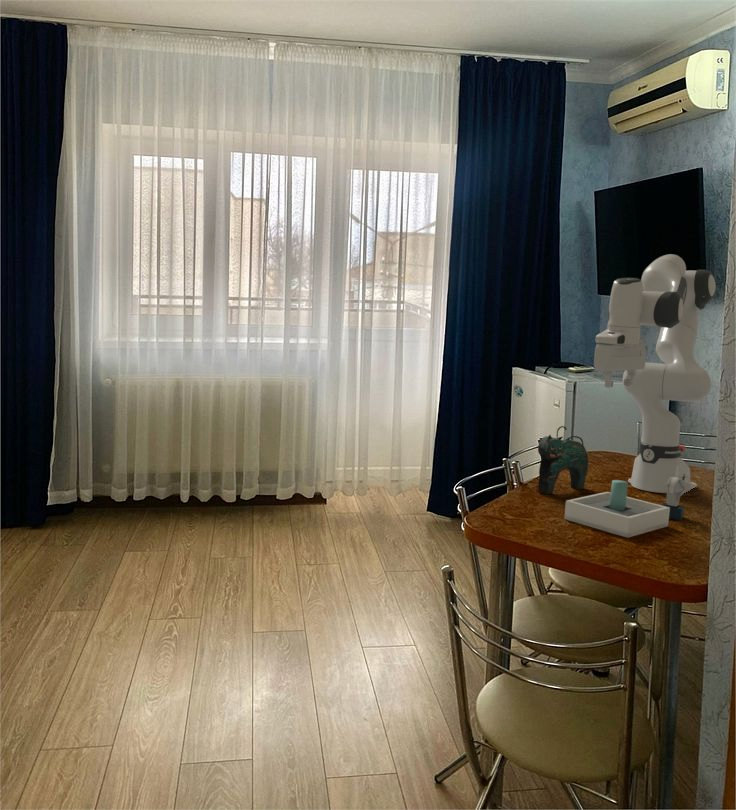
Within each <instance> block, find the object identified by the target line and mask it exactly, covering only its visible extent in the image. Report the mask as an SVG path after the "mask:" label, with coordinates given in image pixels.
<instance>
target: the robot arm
mask: <svg viewBox="0 0 736 810" xmlns="http://www.w3.org/2000/svg"><path fill="white" fill-rule="evenodd" d="M716 286H717V285H716V281H715V278H714V275H713V273H712V272H711V271H710V270H707V269H697V270H692V269H691V270H687V265H686V263H685V260H683V258H682V257H680V256H679V255H677V254H672V253H671V254H670V253H669V254H665V255H662V256H659V257H658V258H656V259H655V260H653V261H652V262H651V263H650V264H649V265H648V266H647V267H646V268H645V269H644V270H643V272H642V275H641V279H640V278H638V277H621V278H616V279H615V280H614V281H613V284H612V287H611V291H610V297H609V305H608V313H609V318H608V321H607V326H606V327H607V328H606V329H605V330H604V331H602V332H600V333H598V334H596V336H595V339H594V340H595V343H597V344H596V346H595V348H594V357H593V366H594V369H595V371H598V372H602V376H603V380H604V387H605V388H608V389H609V388H613V387H614V381H613V380H612V376H613V372H620V371H621V372H623V371H624V372H623V375H622V385H623V388H624V390H625V392H627V394H628V395H630V396H631V398H633V399H634V401H635V402H636V404H637V406H638V407H639V410H640V414H641V421H642V423H641V440H640V441H639V445H638V453H639V454H638V455H637V456H636V457H635V459H634V461H633V466H632V467H633V468H632V473H631V477H630V478H628V480H627V482H628V484H629V483H630V485H631V486H632V487H634V488H635V489H638V490H642V491H646V492H652V493H657V494H658V493H661V494H667V492H668V487H667V485H665V484H666V483H668V480H669V479H670V477H678V478H681V479H682V480H684V481H685V483H686V488H685V490H684V492H683V494H682V495H685V494H686V492H687V493H689V492H690V490H691V489H693V488H695V487H696V486H697V487H698V483H695V482H693V481H691V468H690V467H689V466H688V464H687V463H686V462H685V461H684V460H683V459H682V457H681V456H682V454H681V453H682V452H685V450H686V446H685V445H683V444H680V435H681V434H680V433H681V426H682V425H681V420H680V418H679V417H678V416H677V415H676V414H675V413H673V412H671V411H670V410H669V409H667V408H665V406H664V404H663V400H666V401H675V402H684V403H686V402H687V403H688V402H689V403H690V402H701V401H703V400H704V399H706V397H707V396H708V395H709V393H710V391H711V388H712V380H711V377H710V374H709V373H708V371H707V370H705V369H704V368H702V366H700V365H699V364H698V363H697V361H696V359H695V357H694V353H695V352H694V351H695V350H694V349H695V343H696V339H697V335H698V330H699V329H698V327H699V315H698V312H697V311H698V309H699V310H700V311H701V310H703V309H705V308H706V305H707V304H709V303H710V302H711V300H712V299H713V298H714V296H715V293H716ZM642 326H648V327H649V326H650V327H659V328H660V330H659V335H658V338H657V342H656V345H655V353H656V355H657V356H658V358H659V359H660V360H661V361H662V362H663V363H662V362H661V363H659V362H658V363H657V362H646V358H647V357H646V356H647V353H646V352H647V351H646V350H647V349H646V346H645V345H646V344H645V343H644V342H645V341H644V339H643V338H642V336H641V327H642ZM697 487H696V488H697ZM696 488H695V489H696ZM693 490H694V489H693ZM688 491H689V492H688ZM691 491H692V490H691ZM684 493H685V494H684Z"/></svg>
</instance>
